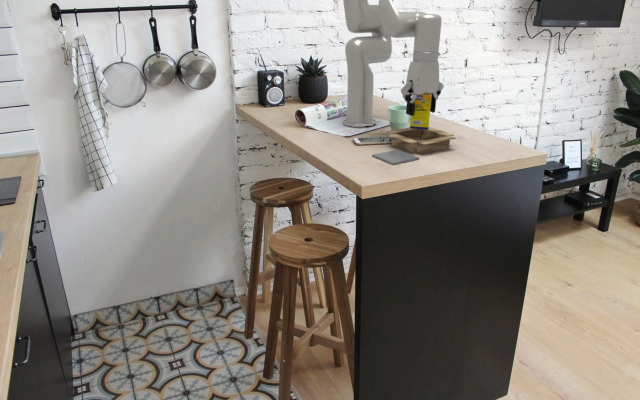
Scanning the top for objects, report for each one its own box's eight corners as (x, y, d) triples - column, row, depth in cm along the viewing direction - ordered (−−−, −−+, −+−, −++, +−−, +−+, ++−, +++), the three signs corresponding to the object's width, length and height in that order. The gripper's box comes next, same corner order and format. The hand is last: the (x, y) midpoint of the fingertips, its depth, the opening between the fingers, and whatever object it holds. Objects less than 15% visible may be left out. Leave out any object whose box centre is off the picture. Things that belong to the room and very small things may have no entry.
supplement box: (428, 130, 164) (431, 95, 160) (409, 128, 165) (412, 94, 161) (428, 125, 170) (432, 91, 165) (410, 124, 171) (413, 90, 166)
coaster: (372, 156, 159) (372, 154, 158) (397, 151, 164) (397, 149, 163) (392, 165, 151) (393, 163, 151) (419, 159, 156) (419, 157, 155)
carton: (380, 143, 172) (380, 132, 171) (421, 135, 181) (422, 125, 179) (417, 157, 158) (417, 145, 156) (460, 148, 166) (461, 136, 165)
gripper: (438, 53, 166) (432, 107, 173) (395, 57, 158) (391, 113, 164) (455, 56, 160) (448, 112, 167) (411, 60, 152) (407, 119, 159)
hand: (420, 112), depth 166 cm, fingers closed on supplement box, 8 cm apart
